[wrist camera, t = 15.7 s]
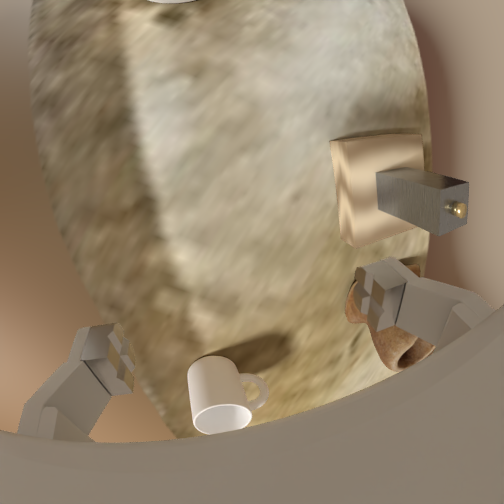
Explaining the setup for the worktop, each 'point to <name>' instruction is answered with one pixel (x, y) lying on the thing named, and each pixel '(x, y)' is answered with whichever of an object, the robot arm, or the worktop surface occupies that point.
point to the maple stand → (370, 183)
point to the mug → (221, 395)
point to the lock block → (423, 198)
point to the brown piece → (392, 337)
